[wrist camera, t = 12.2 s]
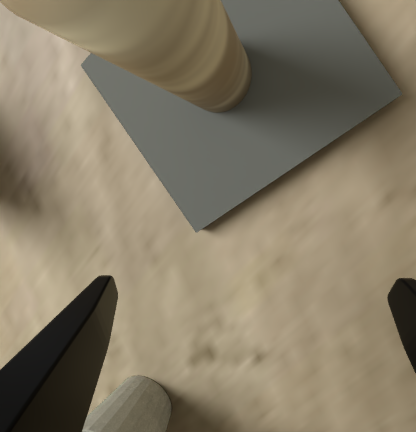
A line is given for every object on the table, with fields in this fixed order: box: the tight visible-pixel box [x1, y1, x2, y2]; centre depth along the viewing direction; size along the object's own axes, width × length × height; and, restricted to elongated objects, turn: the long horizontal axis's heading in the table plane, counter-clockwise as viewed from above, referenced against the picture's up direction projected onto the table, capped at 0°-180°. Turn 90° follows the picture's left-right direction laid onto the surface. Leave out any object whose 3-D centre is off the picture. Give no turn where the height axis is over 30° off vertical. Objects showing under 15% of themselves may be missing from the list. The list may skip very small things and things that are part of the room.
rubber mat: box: [81, 0, 402, 233], centre depth 17 cm, size 14×14×1 cm
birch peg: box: [0, 0, 252, 113], centre depth 11 cm, size 4×4×12 cm
